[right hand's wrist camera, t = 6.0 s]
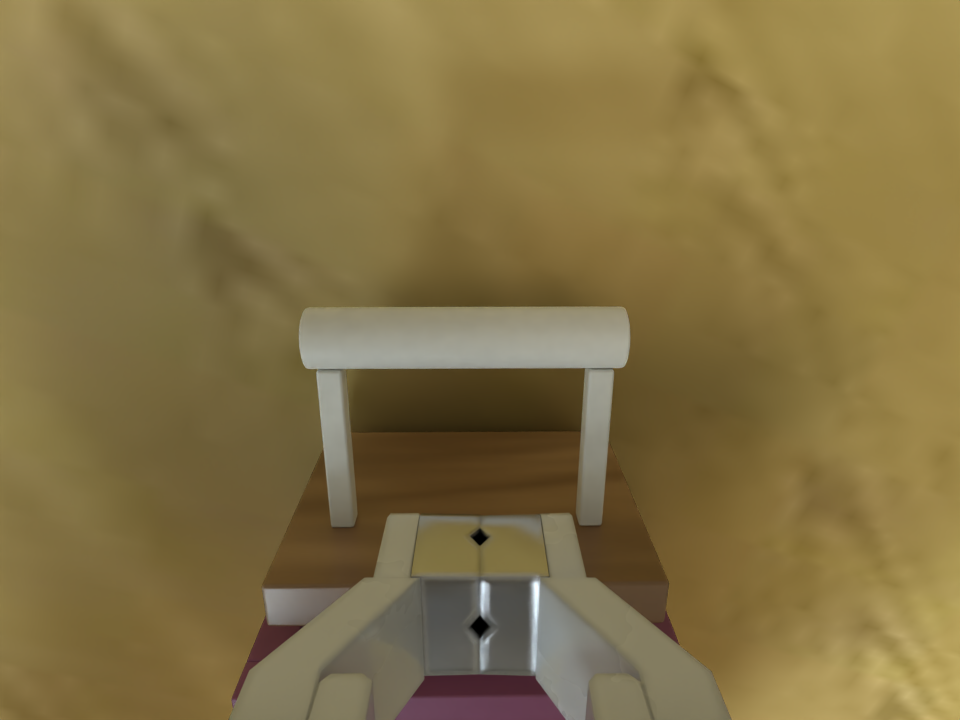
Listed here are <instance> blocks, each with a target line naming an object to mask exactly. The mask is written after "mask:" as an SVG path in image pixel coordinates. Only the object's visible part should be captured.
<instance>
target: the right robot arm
mask: <svg viewBox="0 0 960 720" xmlns="http://www.w3.org/2000/svg"><path fill="white" fill-rule="evenodd" d="M474 674H484V675H520V676H536V680H537V681H538V683H539V684H540V685H541V687H542V688H543V689H544V691H545V692H546V693H547V695H548V696H549V698H550V699H551V700H552V702H553V703H554V704H555V706H556V707H557V708H558V710H559V711H560V713H561V714H562V715H563V717H564V718H565V719H566V720H731V717H730V715H729V712H728V710H727V708H726V705H725V703H724V700H723V698H722V696H721V693H720V691H719V688H718V686H717V683H716V681H715V679H714V676H713V674H712V672H711V671H710V670H709V669H708V668H707V667H705V666H704V665H703V664H702V663H700V662H699V661H698V660H697V659H695V658H694V657H693V656H692V655H691V654H689V653H688V652H687V651H686V650H684V649H683V648H682V647H681V646H679V645H678V644H677V643H676V642H674V641H673V640H672V639H671V638H670V637H668V636H667V635H666V634H665V633H663V632H662V631H661V630H660V629H658V628H657V627H656V626H655V625H654V624H652V623H651V622H650V621H649V620H647V619H646V618H645V617H644V616H642V615H641V614H640V613H639V612H637V611H636V610H635V609H634V608H633V607H631V606H630V605H629V604H628V603H626V602H625V601H624V600H623V599H621V598H620V597H619V596H618V595H616V594H615V593H614V592H613V591H612V590H610V589H609V588H608V587H607V586H605V585H604V584H603V583H602V582H600V581H599V580H598V579H597V578H587V577H586V572H585V568H584V564H583V560H582V555H581V551H580V547H579V543H578V538H577V534H576V530H575V526H574V521H573V517H572V515H571V514H570V513H547V514H531V515H479V514H431V513H421V515H420V514H419V513H390V515H389V516H388V517H387V521H386V525H385V529H384V534H383V538H382V542H381V546H380V551H379V555H378V559H377V564H376V568H375V572H374V577H373V578H363V579H362V580H361V581H360V582H358V583H357V584H356V585H355V586H353V587H352V588H351V589H350V590H348V591H347V592H346V593H345V594H343V595H342V596H341V597H340V598H339V599H337V600H336V601H335V602H334V603H332V604H331V605H330V606H329V607H327V608H326V609H325V610H324V611H322V612H321V613H320V614H319V615H317V616H316V617H315V618H314V619H312V620H311V621H310V622H309V623H308V624H306V625H305V626H304V627H303V628H301V629H300V630H299V631H298V632H296V633H295V634H294V635H293V636H291V637H290V638H289V639H288V640H286V641H285V642H284V643H283V644H281V645H280V646H279V647H278V648H277V649H275V650H274V651H273V652H272V653H270V654H269V655H268V656H267V657H265V658H264V659H263V660H262V661H260V662H259V663H258V664H257V665H255V666H254V667H253V668H252V669H250V670H249V672H248V675H247V677H246V679H245V682H244V684H243V687H242V689H241V691H240V694H239V696H238V698H237V701H236V703H235V706H234V708H233V710H232V713H231V715H230V717H229V720H395V718H396V717H397V716H398V714H399V713H400V712H401V710H402V709H403V708H404V706H405V705H406V704H407V702H408V701H409V700H410V698H411V697H412V695H413V694H414V693H415V691H416V690H417V689H418V687H419V686H420V685H421V683H422V682H423V681H424V676H440V675H474Z"/></svg>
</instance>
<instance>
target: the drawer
mask: <svg viewBox="0 0 960 720" xmlns="http://www.w3.org/2000/svg"><path fill="white" fill-rule="evenodd" d="M299 348H300V354H301V359H302V362H303V364H304V366H305V367H306V368H308V369H318V370H317V373H316V377H317V387H318V397H319V408H320V418H321V428H322V438H323V450H322V452H321V454H320V457H319V459H318V461H317V463H316V466H315V468H314V470H313V472H312V475H311V477H310V479H309V481H308V484H307V486H306V488H305V490H304V492H303V495H302V497H301V499H300V501H299V504H298V506H297V508H296V510H295V513H294V515H293V517H292V519H291V522H290V524H289V526H288V528H287V531H286V533H285V535H284V537H283V539H282V542H281V544H280V546H279V548H278V551H277V553H276V555H275V557H274V560H273V562H272V564H271V566H270V569H269V571H268V573H267V575H266V578H265V580H264V582H263V584H262V592H263V598H264V605H265V612H266V618H267V624H268V625H269V626H305V625H306V624H308V623H309V622H310V621H311V620H312V619H314V618H315V617H316V616H317V615H319V614H320V613H321V612H322V611H324V610H325V609H326V608H327V607H329V606H330V605H331V604H332V603H334V602H335V601H336V600H337V599H339V598H340V597H341V596H342V595H343V594H345V593H346V592H347V591H348V590H350V589H351V588H352V587H353V586H355V585H356V584H357V583H358V582H360V581H361V580H362V579H363V578H373V577H374V572H375V568H376V564H377V559H378V555H379V551H380V546H381V542H382V538H383V534H384V529H385V525H386V521H387V517H388V516H389V515H390V513H419V514H420V515H421V513H431V514H479V515H531V514H547V513H570V514H571V515H572V517H573V521H574V526H575V530H576V534H577V538H578V543H579V547H580V551H581V555H582V560H583V564H584V568H585V572H586V577H587V578H597V579H598V580H599V581H600V582H602V583H603V584H604V585H605V586H607V587H608V588H609V589H610V590H612V591H613V592H614V593H615V594H616V595H618V596H619V597H620V598H621V599H623V600H624V601H625V602H626V603H628V604H629V605H630V606H631V607H633V608H634V609H635V610H636V611H637V612H639V613H640V614H641V615H642V616H644V617H645V618H646V619H647V620H649V621H650V622H651V623H662V622H663V621H664V618H665V610H666V603H667V595H668V588H669V582H668V579H667V577H666V575H665V572H664V570H663V568H662V565H661V563H660V560H659V558H658V556H657V553H656V551H655V549H654V546H653V544H652V542H651V539H650V537H649V534H648V532H647V530H646V527H645V525H644V523H643V520H642V518H641V516H640V513H639V511H638V509H637V506H636V504H635V501H634V499H633V497H632V494H631V492H630V490H629V487H628V485H627V483H626V480H625V478H624V475H623V473H622V471H621V468H620V466H619V464H618V461H617V459H616V457H615V454H614V452H613V450H612V447H611V445H610V442H609V430H610V418H611V406H612V394H613V382H614V370H613V369H612V368H622V367H624V366H625V365H626V363H627V360H628V356H629V350H630V323H629V318H628V314H627V311H626V309H625V308H624V307H621V306H593V307H308V308H305V309H304V311H303V313H302V316H301V320H300V326H299ZM480 368H585V377H584V392H583V408H582V423H581V431H548V432H351V425H350V413H349V400H348V387H347V375H346V369H480Z"/></svg>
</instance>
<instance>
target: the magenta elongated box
mask: <svg viewBox="0 0 960 720" xmlns="http://www.w3.org/2000/svg"><path fill="white" fill-rule="evenodd" d="M652 624H654V625H655V626H656V627H657V628H658V629H660V630H661V631H662V632H663V633H665V634H666V635H667V636H668V637H670V638H671V639H672V640H673V641H674V642H676V643H677V644H678V645H679V642H678V640H677V637H676V635H675V632H674V630H673V627H672V625H671V622H670V620H669V617H668V615H667V612H666V610H665V618H664V621H663V622H662V623H652ZM303 627H304V626H269V625H268V624H267V618H266V616H265V619H264V621H263V623H262V626H261V628H260V631H259V633H258V636H257V638H256V640H255V643H254V645H253V648H252V650H251V653H250V655H249V657H248V660H247V663H246V665H245V667H244V669H243V672H242V674H241V677H240V679H239V682H238V684H237V686H236V689H235V691H234V694H233V696H232V705H233V708H234V706H235V703H236V701H237V698H238V696H239V694H240V691H241V689H242V687H243V684H244V682H245V679H246V677H247V675H248V672H249V670H250V669H252V668H253V667H254V666H255V665H257V664H258V663H259V662H260V661H262V660H263V659H264V658H265V657H267V656H268V655H269V654H270V653H272V652H273V651H274V650H275V649H277V648H278V647H279V646H280V645H281V644H283V643H284V642H285V641H286V640H288V639H289V638H290V637H291V636H293V635H294V634H295V633H296V632H298V631H299V630H300V629H301V628H303ZM679 646H680V645H679ZM395 720H566V719H565V718H564V717H563V715H562V714H561V713H560V711H559V710H558V708H557V707H556V706H555V704H554V703H553V702H552V700H551V699H550V698H549V696H548V695H547V693H546V692H545V691H544V689H543V688H542V687H541V685H540V684H539V683H538V681H537V680H536V676H520V675H484V674H474V675H440V676H424V681H423V682H422V683H421V685H420V686H419V687H418V689H417V690H416V691H415V693H414V694H413V695H412V697H411V698H410V700H409V701H408V702H407V704H406V705H405V706H404V708H403V709H402V710H401V712H400V713H399V714H398V716H397V717H396V718H395Z"/></svg>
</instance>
